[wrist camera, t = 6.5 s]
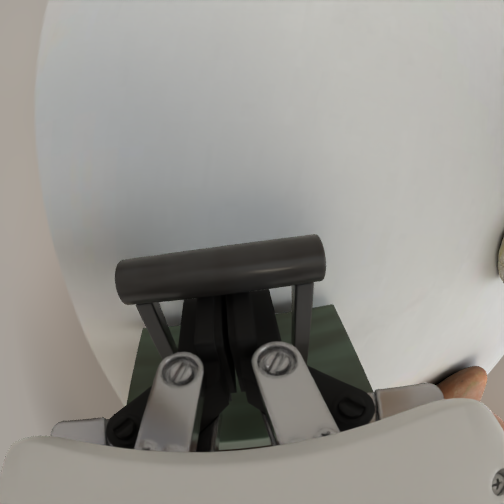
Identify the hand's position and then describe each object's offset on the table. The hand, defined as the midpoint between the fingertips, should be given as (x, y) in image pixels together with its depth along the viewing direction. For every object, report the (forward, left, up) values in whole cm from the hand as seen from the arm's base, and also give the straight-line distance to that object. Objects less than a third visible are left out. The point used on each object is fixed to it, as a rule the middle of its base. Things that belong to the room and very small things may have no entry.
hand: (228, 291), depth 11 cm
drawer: (+2, -7, -3) cm, 8 cm away
